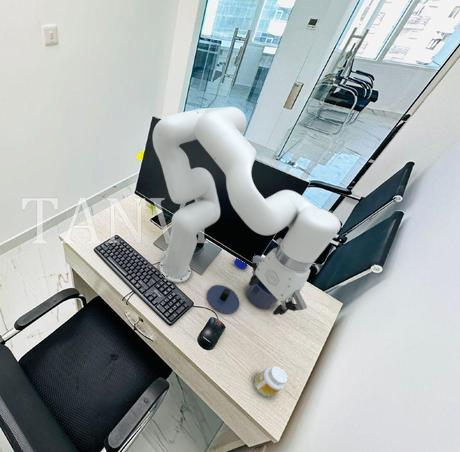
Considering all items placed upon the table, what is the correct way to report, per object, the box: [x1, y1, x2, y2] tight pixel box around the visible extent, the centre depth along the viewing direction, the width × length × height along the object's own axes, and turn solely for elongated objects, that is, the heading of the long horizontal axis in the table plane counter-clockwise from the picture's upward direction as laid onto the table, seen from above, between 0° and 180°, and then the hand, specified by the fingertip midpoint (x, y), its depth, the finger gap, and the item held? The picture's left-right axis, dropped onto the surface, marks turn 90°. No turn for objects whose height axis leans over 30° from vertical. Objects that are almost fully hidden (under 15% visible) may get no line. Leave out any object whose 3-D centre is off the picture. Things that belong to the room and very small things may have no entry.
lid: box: [206, 284, 240, 314], centre depth 92 cm, size 11×11×6 cm
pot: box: [245, 281, 279, 310], centre depth 93 cm, size 10×10×8 cm
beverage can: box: [233, 257, 249, 270], centre depth 101 cm, size 5×5×15 cm
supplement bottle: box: [254, 366, 288, 397], centre depth 70 cm, size 5×5×10 cm
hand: (264, 297), depth 71 cm, fingers open, 9 cm apart
